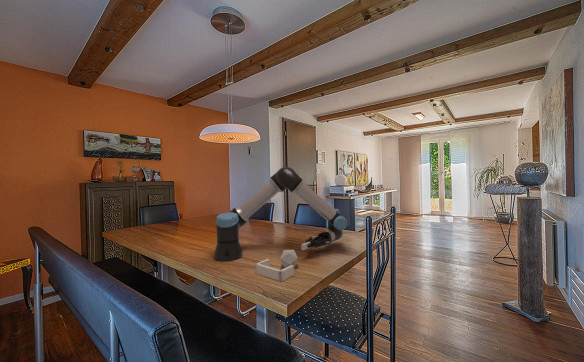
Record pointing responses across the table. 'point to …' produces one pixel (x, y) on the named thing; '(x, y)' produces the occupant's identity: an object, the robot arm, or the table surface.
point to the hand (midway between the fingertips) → (302, 247)
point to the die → (288, 258)
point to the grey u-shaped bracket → (273, 271)
